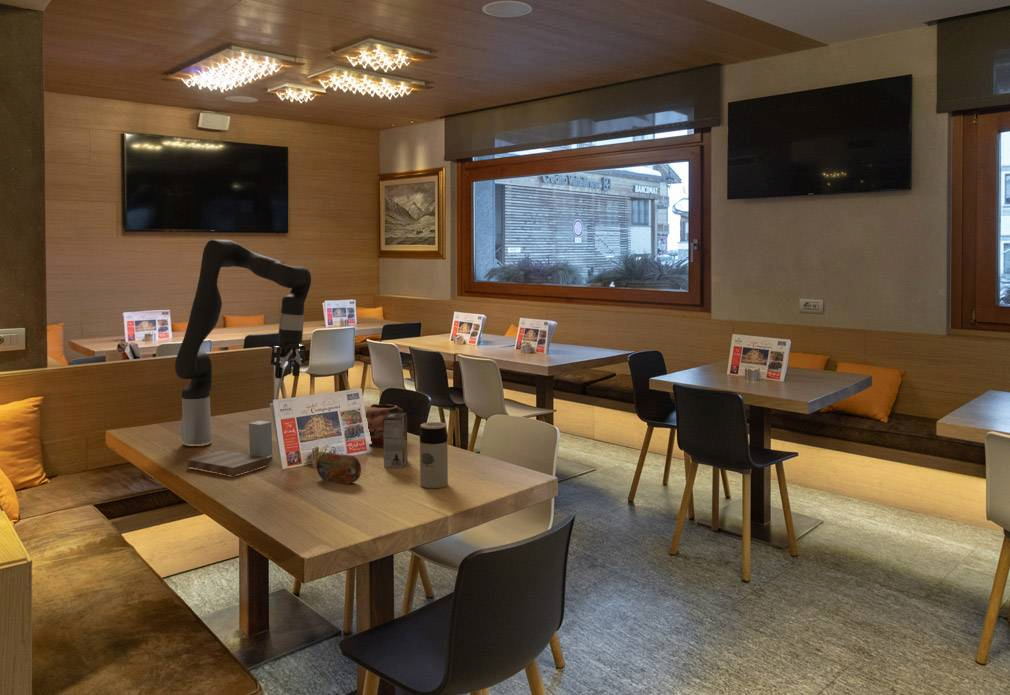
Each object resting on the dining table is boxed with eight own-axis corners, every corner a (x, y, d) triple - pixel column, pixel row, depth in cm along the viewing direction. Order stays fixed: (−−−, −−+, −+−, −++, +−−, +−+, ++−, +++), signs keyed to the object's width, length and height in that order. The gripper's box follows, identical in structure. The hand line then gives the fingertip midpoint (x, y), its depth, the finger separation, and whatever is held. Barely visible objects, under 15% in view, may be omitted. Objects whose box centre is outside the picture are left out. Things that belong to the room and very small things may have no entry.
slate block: (250, 458, 256) (248, 423, 255) (261, 455, 261) (260, 420, 259) (261, 460, 254) (259, 424, 252) (272, 457, 258) (271, 422, 257)
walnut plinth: (187, 469, 244) (187, 459, 243) (223, 459, 256) (222, 450, 255) (233, 477, 234) (232, 467, 234) (267, 466, 246) (267, 457, 246)
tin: (316, 479, 232) (315, 452, 231) (323, 477, 235) (322, 449, 234) (356, 486, 225) (355, 458, 224) (362, 483, 228) (362, 455, 227)
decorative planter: (388, 436, 290) (387, 399, 288) (415, 439, 284) (414, 402, 283) (354, 447, 272) (353, 408, 271) (382, 451, 266) (381, 411, 265)
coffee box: (388, 460, 254) (387, 412, 252) (407, 460, 254) (407, 412, 252) (383, 467, 245) (382, 418, 243) (403, 468, 245) (403, 418, 243)
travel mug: (433, 479, 231) (433, 420, 229) (453, 484, 226) (452, 424, 224) (414, 485, 225) (413, 425, 223) (434, 490, 220) (433, 428, 218)
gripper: (295, 326, 259) (291, 373, 261) (267, 327, 246) (263, 377, 248) (314, 328, 256) (310, 377, 258) (286, 330, 243) (281, 380, 245)
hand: (287, 377), depth 253 cm, fingers open, 8 cm apart
